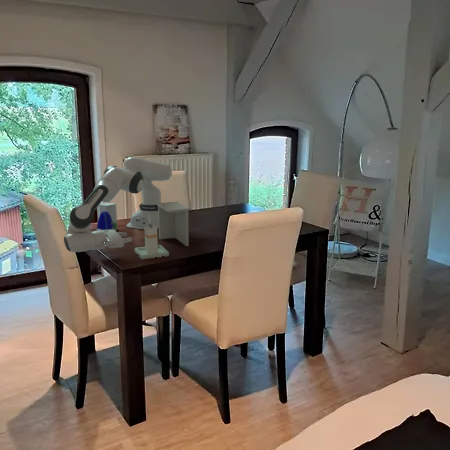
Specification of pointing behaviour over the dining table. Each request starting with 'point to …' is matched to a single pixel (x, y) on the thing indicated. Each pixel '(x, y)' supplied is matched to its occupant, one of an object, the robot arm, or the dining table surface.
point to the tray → (144, 255)
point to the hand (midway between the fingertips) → (129, 236)
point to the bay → (173, 221)
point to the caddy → (151, 239)
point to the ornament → (105, 221)
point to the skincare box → (110, 211)
